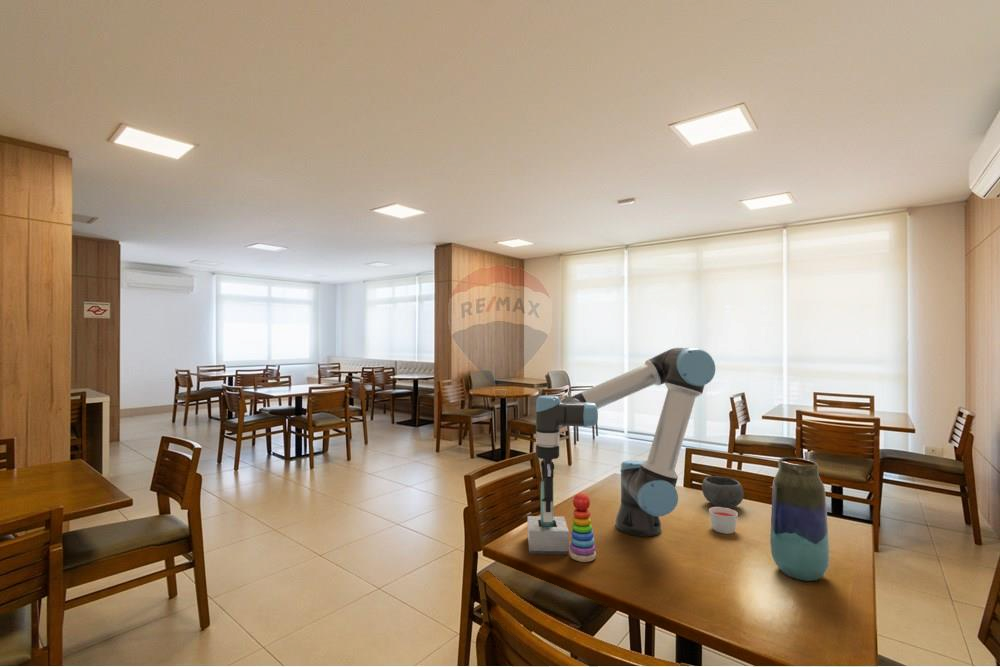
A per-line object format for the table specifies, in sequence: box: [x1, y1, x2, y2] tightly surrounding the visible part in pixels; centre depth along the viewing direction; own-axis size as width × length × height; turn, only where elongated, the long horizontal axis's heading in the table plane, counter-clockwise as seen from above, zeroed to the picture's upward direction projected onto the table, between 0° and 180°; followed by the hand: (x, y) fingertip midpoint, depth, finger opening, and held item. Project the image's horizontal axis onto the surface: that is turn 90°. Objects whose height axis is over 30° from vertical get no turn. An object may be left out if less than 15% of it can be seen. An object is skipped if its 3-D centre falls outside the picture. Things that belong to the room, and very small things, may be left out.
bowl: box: [701, 475, 745, 509], centre depth 181 cm, size 15×15×10 cm
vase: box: [770, 457, 831, 582], centre depth 128 cm, size 14×14×31 cm
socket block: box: [527, 515, 570, 556], centre depth 145 cm, size 12×12×7 cm
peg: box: [540, 480, 554, 527], centre depth 145 cm, size 4×4×14 cm
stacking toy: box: [569, 492, 597, 563], centre depth 137 cm, size 8×8×19 cm
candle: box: [708, 506, 739, 535], centre depth 158 cm, size 9×9×6 cm
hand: (547, 518), depth 145 cm, fingers closed on peg, 4 cm apart
